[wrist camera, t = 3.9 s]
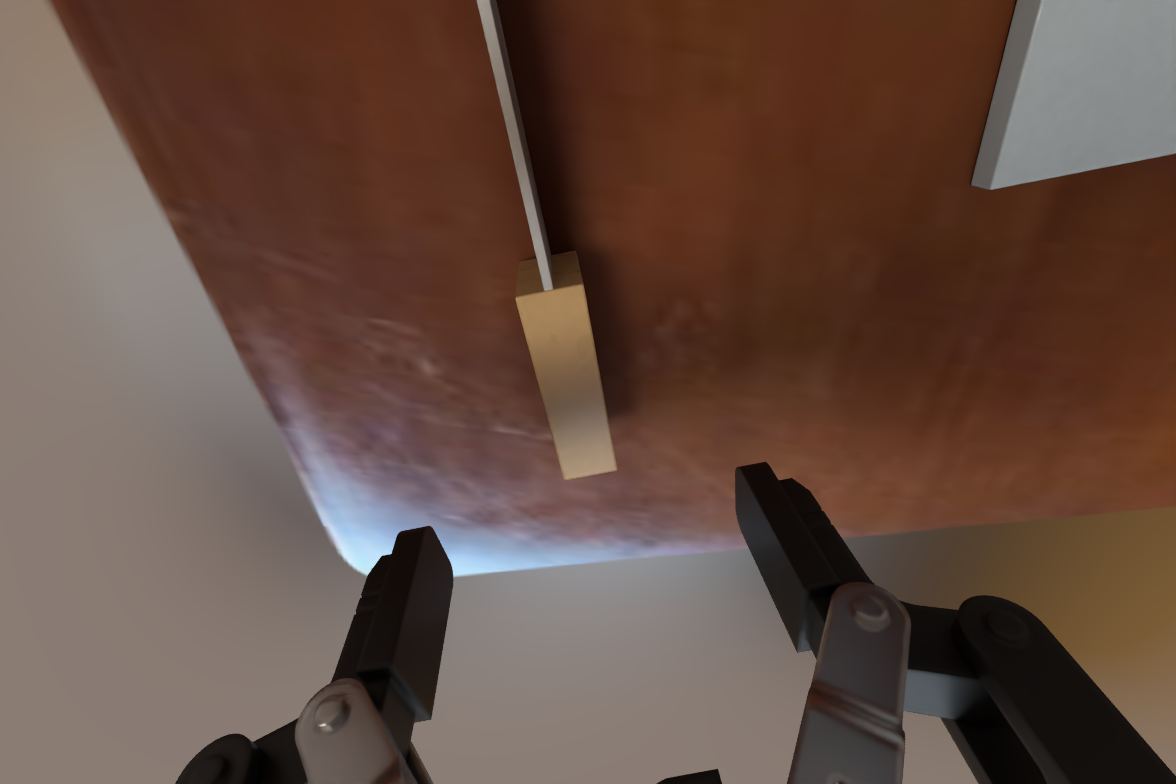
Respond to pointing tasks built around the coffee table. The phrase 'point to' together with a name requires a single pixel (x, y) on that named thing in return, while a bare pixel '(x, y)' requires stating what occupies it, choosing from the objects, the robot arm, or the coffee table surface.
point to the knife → (553, 304)
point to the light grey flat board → (1081, 90)
